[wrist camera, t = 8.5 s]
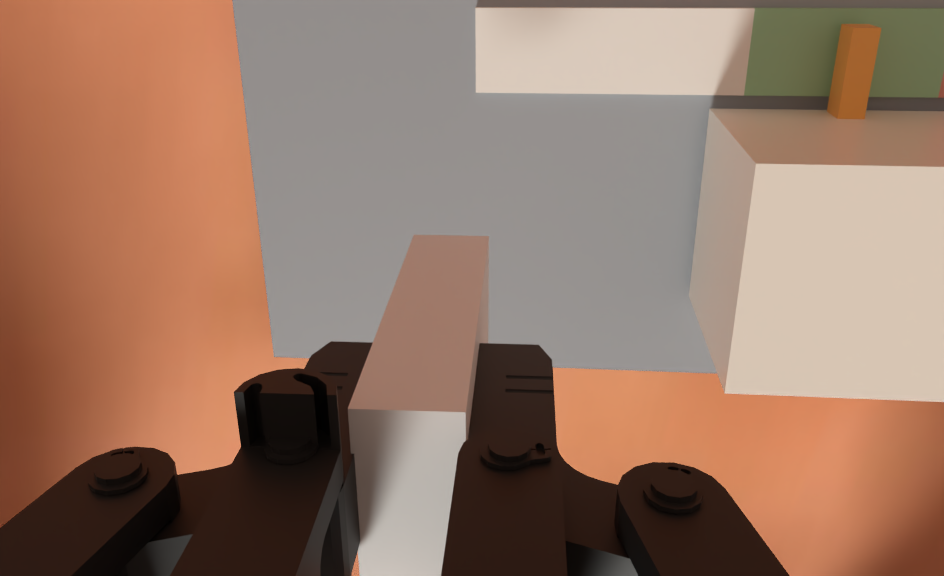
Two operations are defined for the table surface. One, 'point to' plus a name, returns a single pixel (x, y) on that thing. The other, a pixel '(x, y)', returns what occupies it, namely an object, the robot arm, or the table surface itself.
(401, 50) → the gauge board
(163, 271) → the table surface
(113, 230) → the table surface
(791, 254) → the plunger
